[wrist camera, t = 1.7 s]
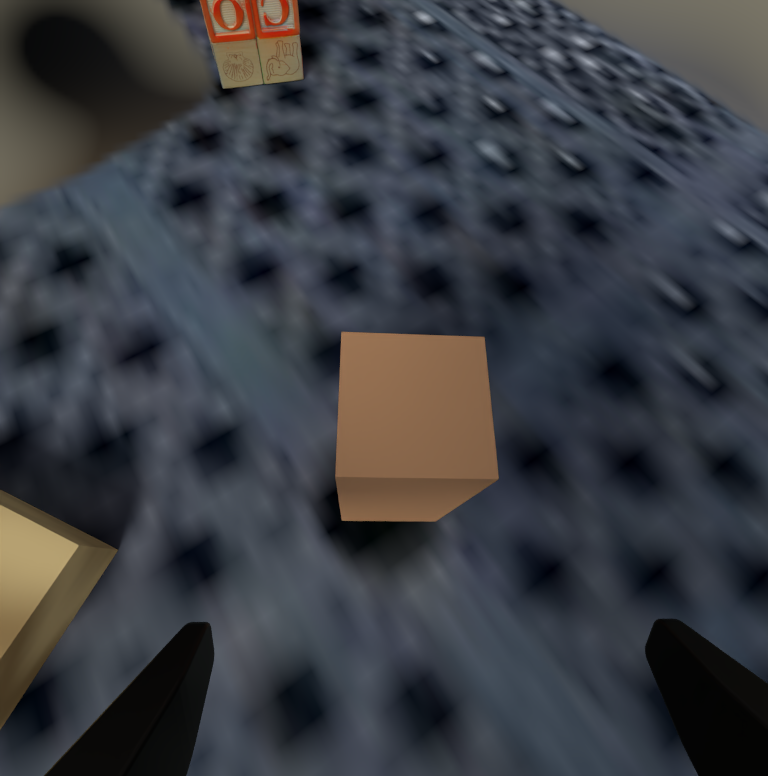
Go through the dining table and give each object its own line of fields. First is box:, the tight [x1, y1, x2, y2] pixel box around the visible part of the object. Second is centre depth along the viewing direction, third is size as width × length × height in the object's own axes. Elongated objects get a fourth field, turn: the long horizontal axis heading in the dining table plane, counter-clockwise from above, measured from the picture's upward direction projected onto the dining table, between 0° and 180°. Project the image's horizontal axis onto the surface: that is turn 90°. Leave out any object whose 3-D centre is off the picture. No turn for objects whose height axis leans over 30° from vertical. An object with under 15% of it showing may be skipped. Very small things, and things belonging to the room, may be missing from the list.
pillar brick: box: [335, 332, 499, 521], centre depth 18 cm, size 4×4×10 cm
